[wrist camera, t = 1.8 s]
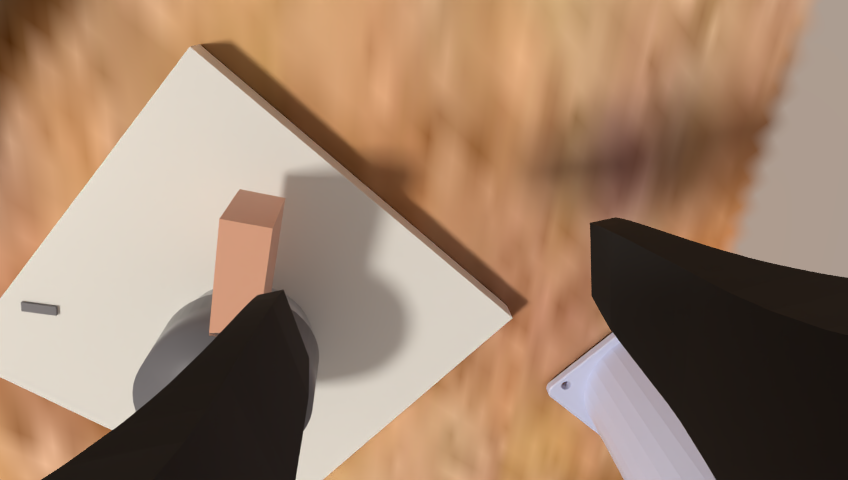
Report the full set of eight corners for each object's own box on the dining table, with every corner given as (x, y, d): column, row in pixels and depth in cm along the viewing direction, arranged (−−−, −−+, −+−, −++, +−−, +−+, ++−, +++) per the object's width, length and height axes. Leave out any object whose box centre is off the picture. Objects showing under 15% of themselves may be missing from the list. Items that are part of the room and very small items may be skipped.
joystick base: (199, 44, 16) (178, 49, 14) (506, 305, 22) (518, 331, 20) (-26, 340, 20) (-64, 373, 18) (287, 494, 26) (281, 530, 24)
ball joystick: (306, 419, 21) (299, 469, 19) (158, 404, 20) (131, 455, 18) (350, 210, 17) (348, 242, 15) (167, 175, 16) (134, 203, 14)
